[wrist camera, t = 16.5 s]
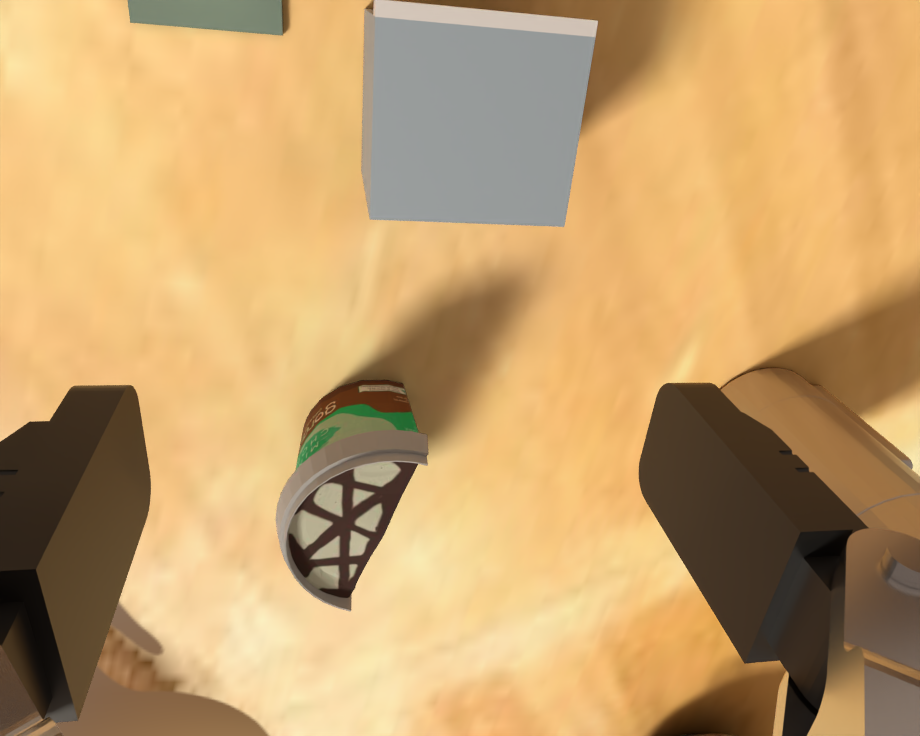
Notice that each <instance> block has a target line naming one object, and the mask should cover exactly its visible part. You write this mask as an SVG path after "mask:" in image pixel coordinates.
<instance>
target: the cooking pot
mask: <svg viewBox="0 0 920 736" xmlns="http://www.w3.org/2000/svg"><path fill="white" fill-rule="evenodd" d="M681 736H737V735H729V734H686V735H681Z"/></svg>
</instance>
